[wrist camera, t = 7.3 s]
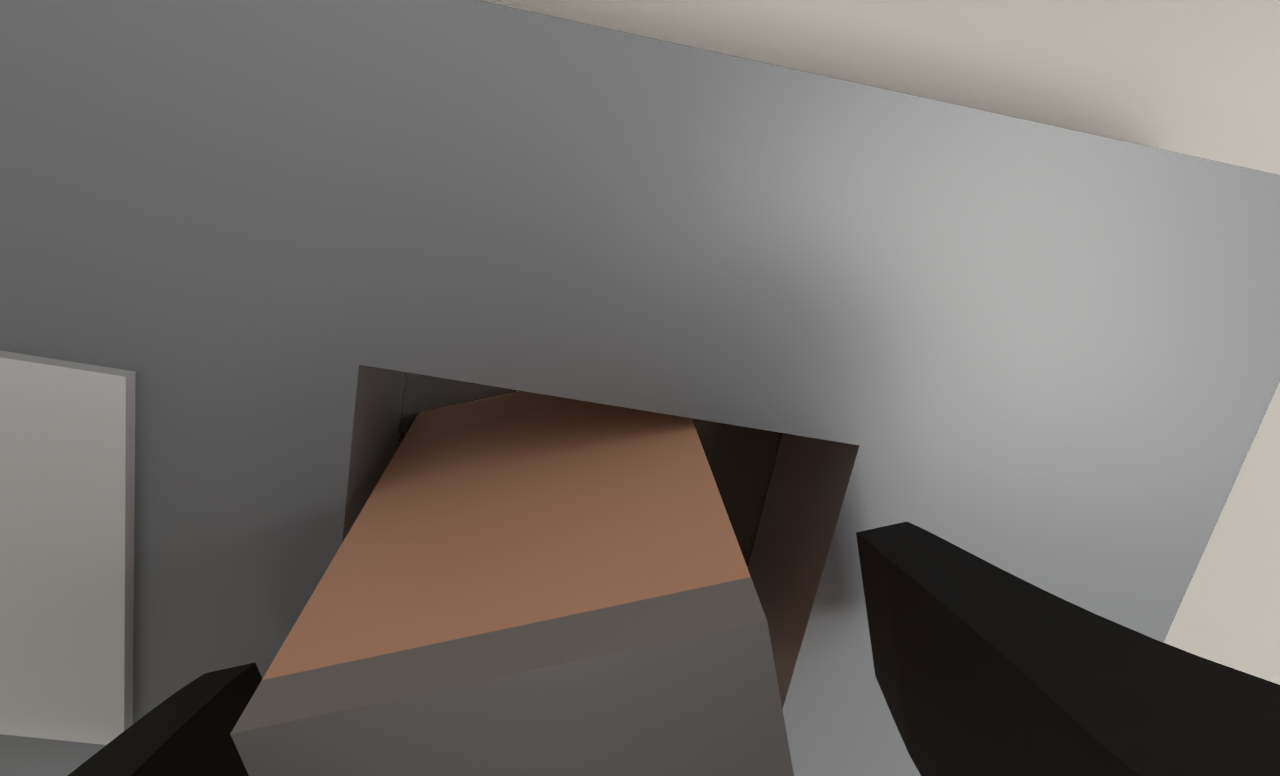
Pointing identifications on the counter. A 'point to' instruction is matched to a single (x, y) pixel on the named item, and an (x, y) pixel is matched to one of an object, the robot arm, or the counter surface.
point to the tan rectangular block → (529, 612)
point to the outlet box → (575, 325)
